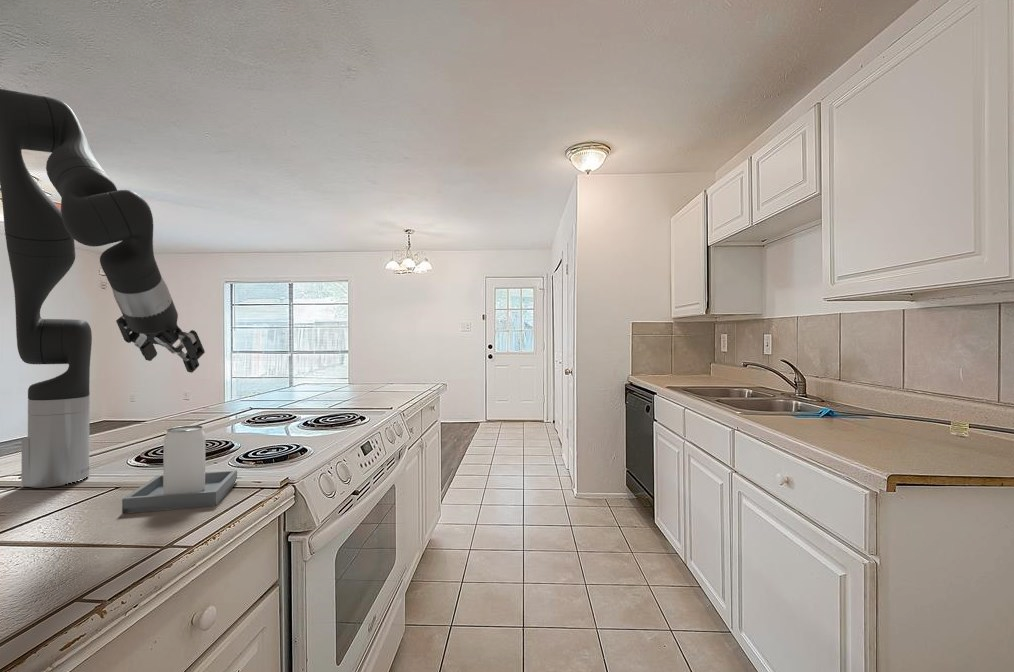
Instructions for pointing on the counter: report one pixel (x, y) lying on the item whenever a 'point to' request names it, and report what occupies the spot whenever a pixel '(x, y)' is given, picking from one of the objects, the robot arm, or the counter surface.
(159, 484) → the bin
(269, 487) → the counter surface
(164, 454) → the can
